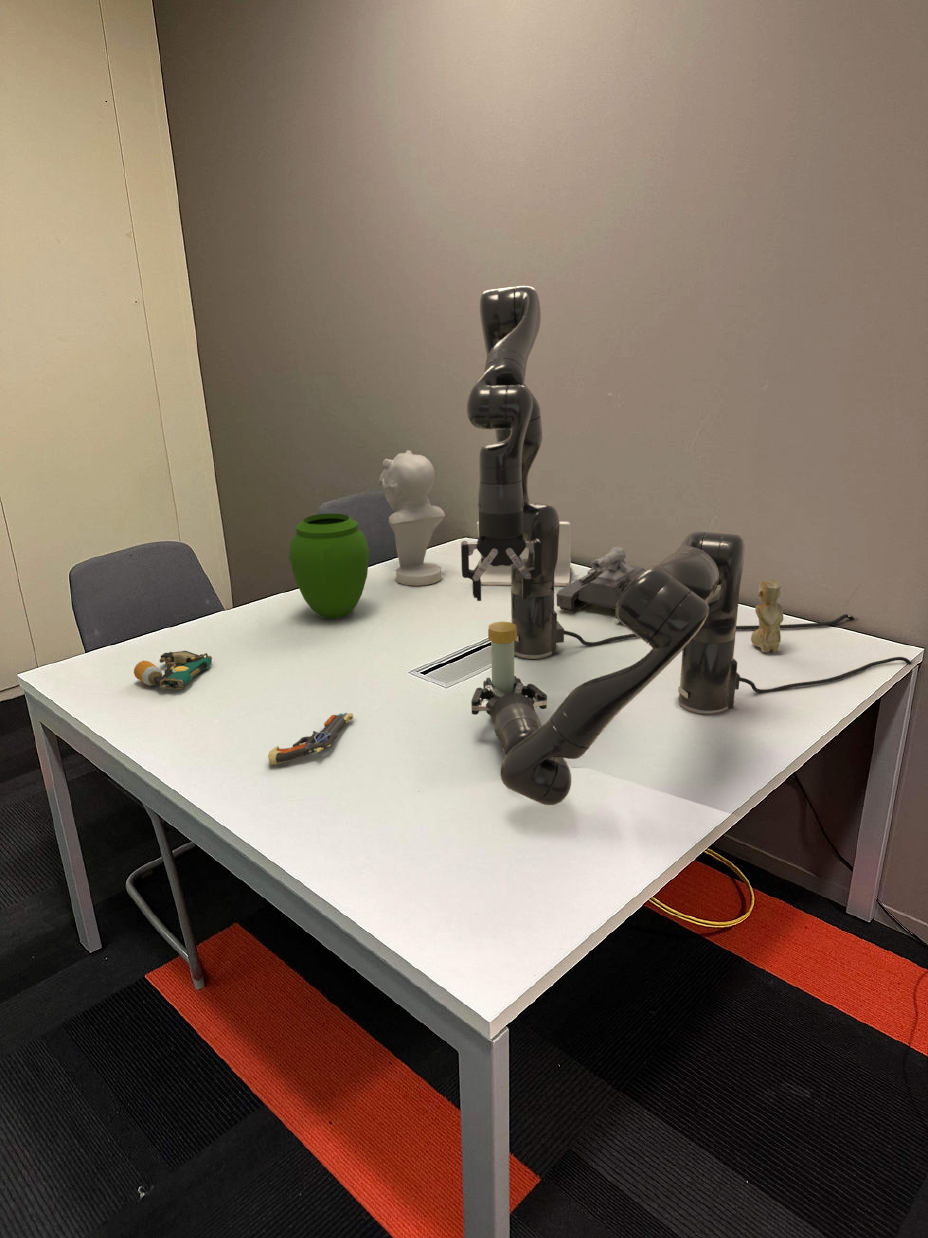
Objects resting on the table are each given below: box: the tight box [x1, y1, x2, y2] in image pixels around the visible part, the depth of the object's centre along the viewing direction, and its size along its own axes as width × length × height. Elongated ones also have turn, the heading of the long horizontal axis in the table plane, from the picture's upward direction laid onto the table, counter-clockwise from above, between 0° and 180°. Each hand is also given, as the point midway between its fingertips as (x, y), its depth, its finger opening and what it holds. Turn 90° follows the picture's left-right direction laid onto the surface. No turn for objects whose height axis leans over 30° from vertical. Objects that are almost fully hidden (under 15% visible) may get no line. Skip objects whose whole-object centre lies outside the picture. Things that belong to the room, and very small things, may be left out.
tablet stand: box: [476, 520, 572, 587], centre depth 236 cm, size 18×25×17 cm
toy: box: [556, 546, 646, 621], centre depth 212 cm, size 25×20×15 cm
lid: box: [487, 621, 517, 644], centre depth 152 cm, size 5×5×2 cm
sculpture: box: [750, 579, 784, 653], centre depth 183 cm, size 6×7×15 cm
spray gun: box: [133, 650, 213, 690], centre depth 180 cm, size 4×17×15 cm
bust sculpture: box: [378, 449, 446, 587], centre depth 236 cm, size 16×24×35 cm, turn 28°
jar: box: [490, 641, 516, 693], centre depth 155 cm, size 4×4×18 cm
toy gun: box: [267, 712, 354, 765], centre depth 151 cm, size 3×19×10 cm
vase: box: [288, 512, 370, 620], centre depth 209 cm, size 20×20×24 cm
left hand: (501, 598), depth 150 cm, fingers open, 7 cm apart
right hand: (500, 681), depth 158 cm, fingers closed on jar, 4 cm apart
